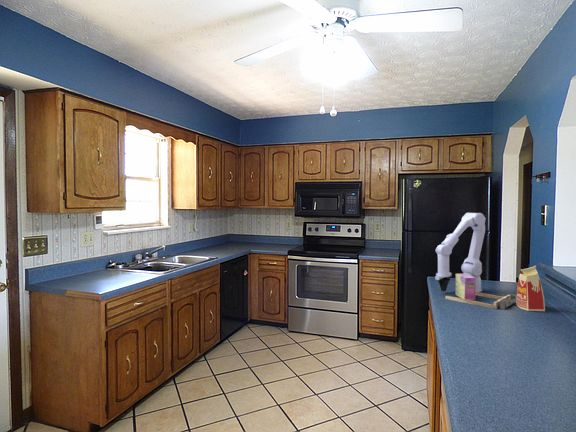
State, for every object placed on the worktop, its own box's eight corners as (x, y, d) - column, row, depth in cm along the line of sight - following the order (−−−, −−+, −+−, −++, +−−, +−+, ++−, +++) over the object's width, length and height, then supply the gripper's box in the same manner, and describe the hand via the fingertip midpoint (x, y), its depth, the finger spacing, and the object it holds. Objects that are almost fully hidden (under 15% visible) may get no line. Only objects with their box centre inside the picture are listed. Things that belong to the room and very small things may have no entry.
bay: (461, 292, 194) (461, 285, 194) (518, 302, 173) (518, 294, 173) (445, 298, 182) (445, 291, 182) (504, 310, 161) (504, 302, 161)
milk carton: (533, 305, 168) (534, 264, 167) (546, 311, 159) (546, 267, 158) (513, 305, 169) (514, 264, 168) (524, 311, 160) (525, 267, 159)
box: (475, 300, 178) (475, 277, 178) (464, 300, 178) (464, 277, 178) (465, 294, 189) (465, 273, 188) (455, 295, 189) (455, 273, 188)
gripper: (442, 263, 200) (442, 287, 200) (429, 267, 190) (430, 291, 191) (455, 265, 194) (455, 289, 195) (442, 269, 185) (442, 294, 185)
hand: (443, 290), depth 192 cm, fingers closed
